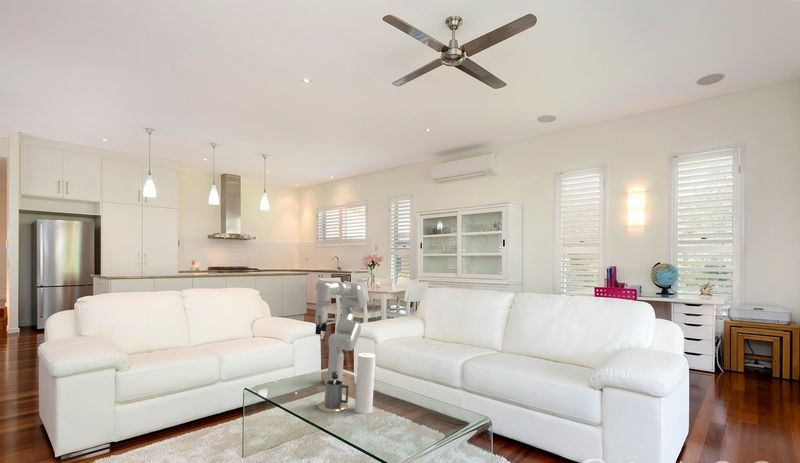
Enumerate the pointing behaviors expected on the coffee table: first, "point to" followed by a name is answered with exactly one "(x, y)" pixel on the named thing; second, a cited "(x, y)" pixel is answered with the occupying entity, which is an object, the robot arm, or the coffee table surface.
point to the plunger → (334, 376)
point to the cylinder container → (365, 383)
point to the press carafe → (334, 397)
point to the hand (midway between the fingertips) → (320, 332)
